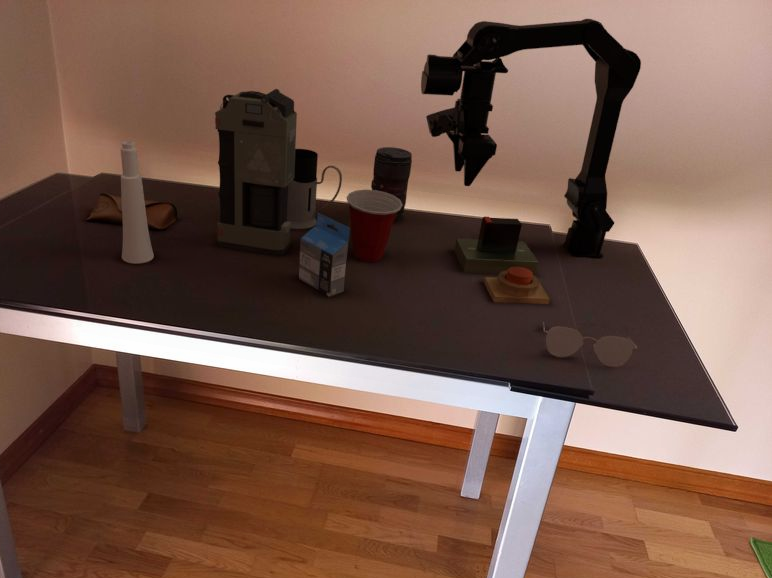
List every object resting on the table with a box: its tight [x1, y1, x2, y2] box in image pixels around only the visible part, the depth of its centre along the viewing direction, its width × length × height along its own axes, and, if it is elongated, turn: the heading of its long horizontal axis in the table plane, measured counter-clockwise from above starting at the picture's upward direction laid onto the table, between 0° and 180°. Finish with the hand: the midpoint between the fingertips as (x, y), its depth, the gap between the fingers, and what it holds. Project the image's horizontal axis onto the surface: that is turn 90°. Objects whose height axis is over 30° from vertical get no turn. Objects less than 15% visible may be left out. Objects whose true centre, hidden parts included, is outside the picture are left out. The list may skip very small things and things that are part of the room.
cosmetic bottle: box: [120, 140, 155, 265], centre depth 128 cm, size 6×6×22 cm
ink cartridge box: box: [298, 212, 351, 297], centre depth 124 cm, size 9×4×12 cm, turn 40°
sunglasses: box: [542, 321, 638, 368], centre depth 112 cm, size 14×8×5 cm, turn 73°
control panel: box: [453, 238, 539, 276], centre depth 138 cm, size 14×11×3 cm
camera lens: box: [370, 146, 413, 223], centre depth 154 cm, size 8×8×15 cm
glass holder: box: [287, 148, 343, 230], centre depth 149 cm, size 9×14×15 cm, turn 64°
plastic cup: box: [346, 189, 403, 263], centre depth 136 cm, size 11×11×12 cm
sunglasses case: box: [86, 192, 178, 230], centre depth 149 cm, size 18×7×7 cm, turn 78°
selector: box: [477, 216, 523, 253], centre depth 136 cm, size 7×3×6 cm, turn 91°
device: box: [214, 88, 298, 256], centre depth 133 cm, size 14×8×30 cm, turn 74°
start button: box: [506, 267, 534, 285], centre depth 126 cm, size 4×4×2 cm
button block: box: [483, 270, 551, 305], centre depth 128 cm, size 10×8×3 cm
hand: (462, 178), depth 138 cm, fingers open, 9 cm apart
